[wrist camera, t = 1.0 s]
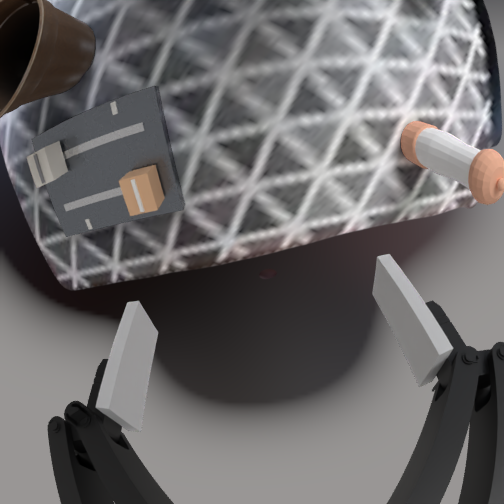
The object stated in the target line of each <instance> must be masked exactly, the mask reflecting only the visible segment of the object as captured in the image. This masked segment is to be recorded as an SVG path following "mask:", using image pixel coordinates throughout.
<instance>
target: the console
mask: <svg viewBox="0 0 504 504" xmlns="http://www.w3.org/2000/svg"><path fill="white" fill-rule="evenodd" d="M58 141H60V145H61V149H62V152H63V156H64V159H65V162H66V166H67V169H68V172H66V173H65V174H63V175H62V176H60V177H59V178H57V179H56V180H54V181H52V182H49V183H47V184H45V185H46V188H47V191H48V194H49V196H50V199H51V202H52V204H53V207H54V209H55V212H56V214H57V217H58V219H59V222H60V224H61V226H62V229H63V231H64V233H65V235H66V237H68V236H72V235H75V234H79V233H83V232H87V231H91V230H95V229H99V228H103V227H107V226H111V225H116V224H120V223H124V222H129V221H133V220H138V219H142V218H147V217H151V216H156V215H161V214H166V213H171V212H176V211H181V210H183V209H184V207H185V202H184V198H183V194H182V190H181V186H180V182H179V178H178V174H177V170H176V166H175V162H174V158H173V153H172V149H171V145H170V140H169V136H168V131H167V127H166V122H165V118H164V113H163V108H162V103H161V98H160V93H159V88H158V86H153V87H150V88H146V89H143V90H140V91H137V92H134V93H131V94H128V95H125V96H123V97H120V98H117V99H114V100H112V101H109V102H107V103H104V104H102V105H99V106H97V107H95V108H92V109H90V110H88V111H85V112H83V113H81V114H79V115H77V116H74V117H72V118H70V119H68V120H66V121H64V122H62V123H60V124H58V125H56V126H55V127H53V128H51V129H49V130H47V131H45V132H43V133H42V134H40V135H38V136H36V137H35V138H33V139H32V142H33V146H34V150H35V152H37V151H39V150H40V149H42V148H44V147H46V146H49V145H51V144H53V143H55V142H58ZM152 165H156V168H157V172H158V176H159V180H160V183H161V187H162V190H163V194H164V198H165V199H164V200H163V202H162V204H161V206H160V207H159V209H158V210H156V211H152V212H147V213H142V214H138V215H134V216H130V214H129V211H128V208H127V205H126V202H125V199H124V196H123V193H122V190H121V187H120V184H119V180H120V179H121V178H122V177H124V176H125V175H126V174H127V173H128V172H129V171H133V170H137V169H140V168H144V167H148V166H152Z"/></svg>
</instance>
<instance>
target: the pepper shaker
mask: <svg viewBox="0 0 504 504" xmlns="http://www.w3.org/2000/svg"><path fill="white" fill-rule="evenodd" d="M401 149H402V152H403V154H404V156H405V157H406V158H407V159H408V160H409V161H411V162H412V163H414V164H416V165H418V166H420V167H422V168H425V169H430V170H431V171H433V172H435V173H436V174H439V175H442V176H445V177H448V178H451V179H454V180H456V181H457V182H459V183H461V184H462V185H464V186H465V187H467V188H469V189H470V191H471V193H472V195H473V197H474V198H475V199H476V200H477V201H478V202H479V203H482V204H487V205H488V204H492V203H495V202H496V201H498V200H499V199H500V197H501V196H502V194H503V192H504V160H503V158H502V157H501V155H500V154H499V153H498V152H497V151H495V150H493V149H485V150H479V149H476V148H474V147H472V146H470V145H468V144H466V143H464V142H463V141H461V140H459V139H458V138H456V137H455V136H453V135H452V134H450V133H447V132H445V131H441V130H439V129H438V128H437V127H435V126H433V125H430V124H426V123H423V122H420V121H414V122H412V123H410V124H408V125H407V126H406V127H405V129H404V131H403V133H402V136H401Z"/></svg>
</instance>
